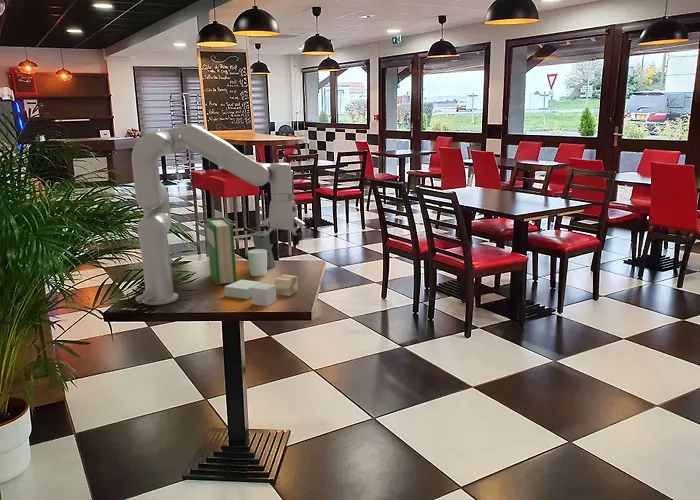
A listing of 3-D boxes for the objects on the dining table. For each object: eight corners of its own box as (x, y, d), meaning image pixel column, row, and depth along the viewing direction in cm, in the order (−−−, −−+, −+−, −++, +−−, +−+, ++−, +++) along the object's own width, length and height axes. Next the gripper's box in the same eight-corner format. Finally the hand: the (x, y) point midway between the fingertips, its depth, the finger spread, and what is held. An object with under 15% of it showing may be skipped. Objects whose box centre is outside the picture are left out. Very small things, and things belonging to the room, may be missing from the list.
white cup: (251, 271, 242) (249, 249, 240) (269, 271, 242) (268, 248, 240) (247, 276, 235) (245, 253, 232) (266, 276, 234) (265, 253, 232)
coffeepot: (274, 270, 244) (272, 229, 240) (252, 271, 243) (250, 229, 239) (276, 261, 259) (274, 222, 255) (255, 262, 258) (253, 223, 254)
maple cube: (289, 296, 208) (288, 280, 207) (275, 294, 210) (274, 278, 209) (297, 291, 213) (297, 276, 212) (284, 289, 216) (283, 274, 214)
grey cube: (266, 306, 197) (265, 289, 196) (252, 304, 199) (251, 287, 198) (276, 301, 202) (275, 285, 201) (262, 299, 205) (261, 283, 203)
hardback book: (236, 283, 225) (232, 223, 220) (217, 286, 222) (213, 225, 217) (228, 273, 241) (224, 217, 236) (210, 275, 238) (206, 218, 233)
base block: (247, 300, 205) (246, 289, 204) (225, 296, 210) (224, 286, 209) (263, 292, 214) (262, 282, 213) (242, 289, 218) (241, 279, 217)
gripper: (308, 197, 203) (310, 243, 207) (267, 195, 211) (270, 240, 215) (297, 199, 197) (299, 248, 201) (255, 198, 204) (258, 244, 208)
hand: (284, 244), depth 208 cm, fingers open, 9 cm apart
